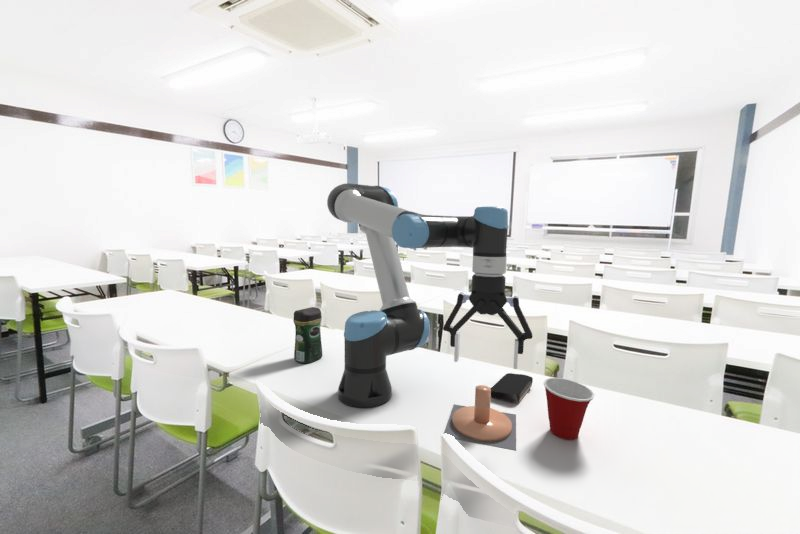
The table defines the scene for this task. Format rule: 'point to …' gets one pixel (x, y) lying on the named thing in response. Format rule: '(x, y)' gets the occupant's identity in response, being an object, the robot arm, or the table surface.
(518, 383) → the black sponge
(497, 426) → the lid
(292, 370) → the table surface
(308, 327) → the coffee jar
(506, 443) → the mat
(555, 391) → the plastic cup
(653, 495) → the table surface
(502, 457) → the table surface
